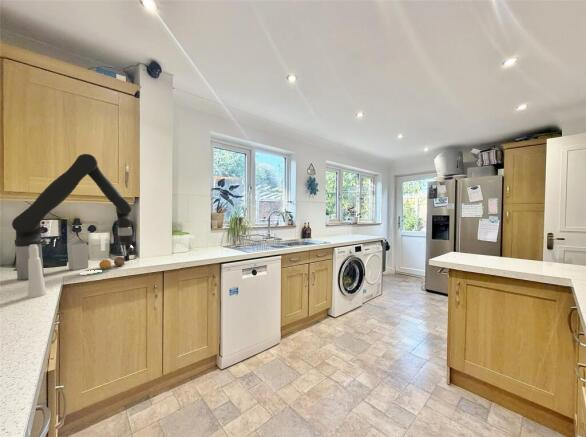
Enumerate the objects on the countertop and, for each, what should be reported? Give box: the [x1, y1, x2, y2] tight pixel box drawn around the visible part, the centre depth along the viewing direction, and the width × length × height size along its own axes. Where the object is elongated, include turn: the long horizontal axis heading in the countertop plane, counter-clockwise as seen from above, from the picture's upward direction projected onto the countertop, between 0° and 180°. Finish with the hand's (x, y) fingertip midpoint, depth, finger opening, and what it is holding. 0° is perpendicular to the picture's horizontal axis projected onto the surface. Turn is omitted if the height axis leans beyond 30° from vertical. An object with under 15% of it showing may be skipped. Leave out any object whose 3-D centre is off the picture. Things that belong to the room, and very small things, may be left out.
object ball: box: [98, 259, 112, 269], centre depth 147 cm, size 6×6×6 cm
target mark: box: [82, 267, 111, 277], centre depth 142 cm, size 14×14×1 cm
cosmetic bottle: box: [26, 244, 48, 299], centre depth 107 cm, size 6×6×22 cm
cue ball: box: [113, 256, 126, 267], centre depth 154 cm, size 6×6×6 cm
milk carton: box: [66, 235, 89, 271], centre depth 148 cm, size 7×7×19 cm
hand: (126, 261), depth 160 cm, fingers closed
